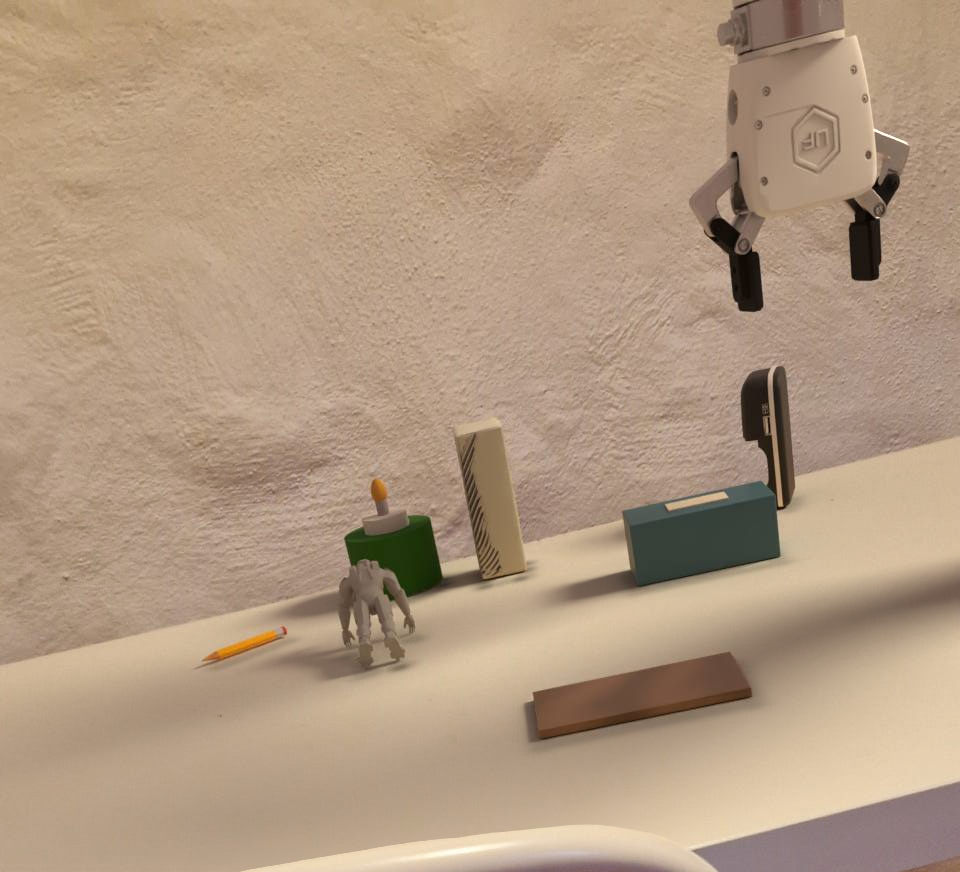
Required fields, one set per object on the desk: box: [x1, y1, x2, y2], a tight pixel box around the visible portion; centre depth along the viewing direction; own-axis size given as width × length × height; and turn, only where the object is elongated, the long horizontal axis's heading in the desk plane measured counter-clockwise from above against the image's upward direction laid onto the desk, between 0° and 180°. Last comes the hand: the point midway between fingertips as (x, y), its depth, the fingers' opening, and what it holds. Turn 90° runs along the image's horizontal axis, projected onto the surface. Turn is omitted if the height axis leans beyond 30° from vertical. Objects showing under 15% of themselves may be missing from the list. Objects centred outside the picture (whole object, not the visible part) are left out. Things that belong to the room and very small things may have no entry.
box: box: [452, 416, 528, 580], centre depth 127 cm, size 5×4×13 cm
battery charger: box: [740, 365, 796, 508], centre depth 129 cm, size 7×4×11 cm, turn 165°
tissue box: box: [621, 480, 782, 587], centre depth 118 cm, size 12×6×5 cm, turn 91°
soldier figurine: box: [337, 559, 417, 669], centre depth 117 cm, size 6×5×12 cm
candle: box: [343, 477, 444, 601], centre depth 131 cm, size 8×8×10 cm
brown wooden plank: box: [532, 651, 753, 740], centre depth 94 cm, size 14×8×1 cm, turn 91°
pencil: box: [200, 626, 288, 662], centre depth 125 cm, size 1×8×1 cm, turn 121°
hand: (808, 295), depth 108 cm, fingers open, 9 cm apart
